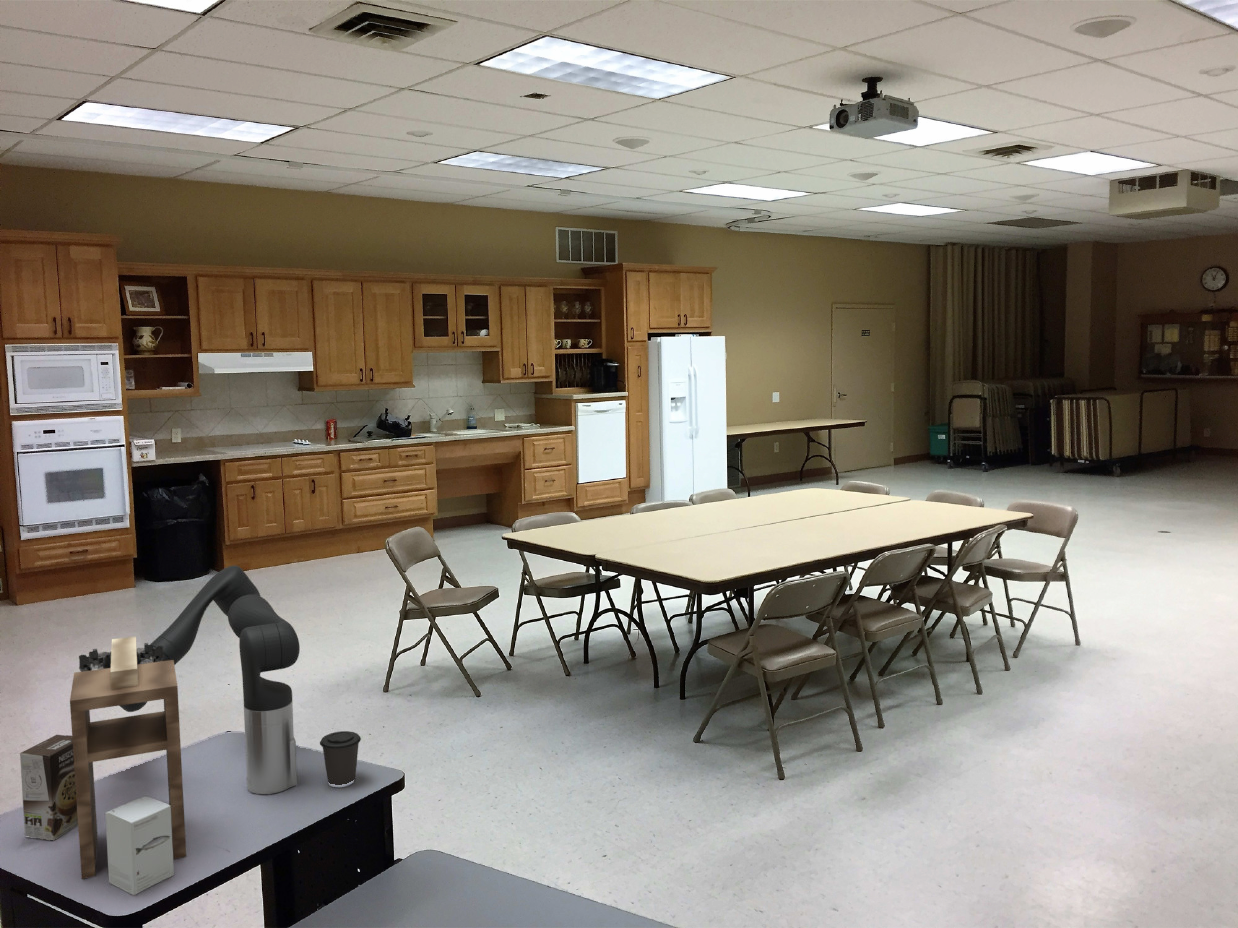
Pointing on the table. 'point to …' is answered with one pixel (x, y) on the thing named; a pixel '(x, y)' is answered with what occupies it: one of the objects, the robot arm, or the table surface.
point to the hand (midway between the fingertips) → (120, 650)
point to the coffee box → (49, 788)
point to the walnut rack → (124, 743)
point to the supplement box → (139, 844)
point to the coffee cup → (340, 756)
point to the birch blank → (124, 663)
